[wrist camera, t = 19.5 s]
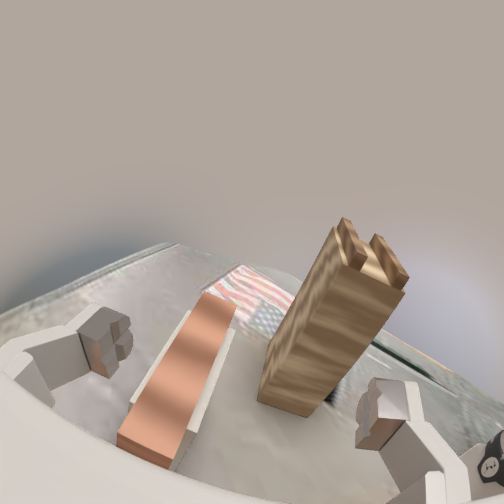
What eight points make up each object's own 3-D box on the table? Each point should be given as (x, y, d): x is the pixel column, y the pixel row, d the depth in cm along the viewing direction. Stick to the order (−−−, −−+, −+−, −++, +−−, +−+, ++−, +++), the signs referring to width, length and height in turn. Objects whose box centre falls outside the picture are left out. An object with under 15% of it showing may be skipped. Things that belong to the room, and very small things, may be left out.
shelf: (168, 480, 27) (196, 433, 21) (122, 459, 27) (129, 401, 21) (202, 397, 40) (235, 330, 35) (165, 380, 40) (188, 309, 35)
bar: (166, 472, 17) (173, 459, 15) (116, 448, 17) (117, 432, 15) (228, 324, 35) (237, 305, 34) (197, 310, 35) (204, 291, 34)
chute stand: (307, 417, 43) (413, 279, 32) (256, 400, 44) (351, 248, 32) (309, 359, 57) (385, 238, 46) (268, 343, 57) (338, 215, 46)
